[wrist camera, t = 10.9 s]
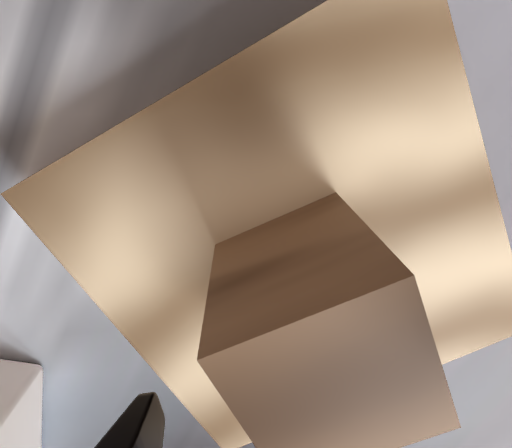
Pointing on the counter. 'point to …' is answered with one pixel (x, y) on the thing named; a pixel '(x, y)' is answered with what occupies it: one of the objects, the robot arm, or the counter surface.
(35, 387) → the medicine bottle
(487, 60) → the counter surface
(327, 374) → the walnut block
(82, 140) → the counter surface
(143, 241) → the birch base
